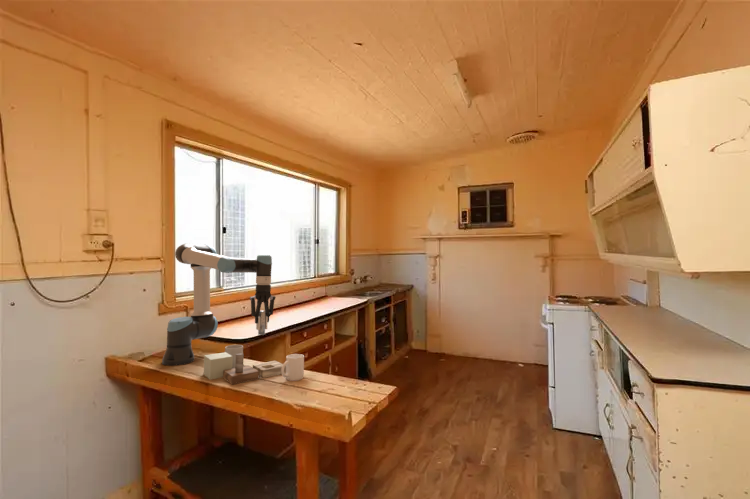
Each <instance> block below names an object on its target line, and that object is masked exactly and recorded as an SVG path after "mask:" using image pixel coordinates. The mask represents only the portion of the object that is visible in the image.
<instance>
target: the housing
mask: <svg viewBox="0 0 750 499" xmlns="http://www.w3.org/2000/svg"><path fill="white" fill-rule="evenodd" d="M232 364H233V356H231V355H230V354H228V353H226V352H225V351H224V352H219V353H211V354H204V355H203V374H202V375H204V377H206V378H207V379H208V380H210V381H211V380H215V379H221V378H223V370H227V369H232Z"/></svg>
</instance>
